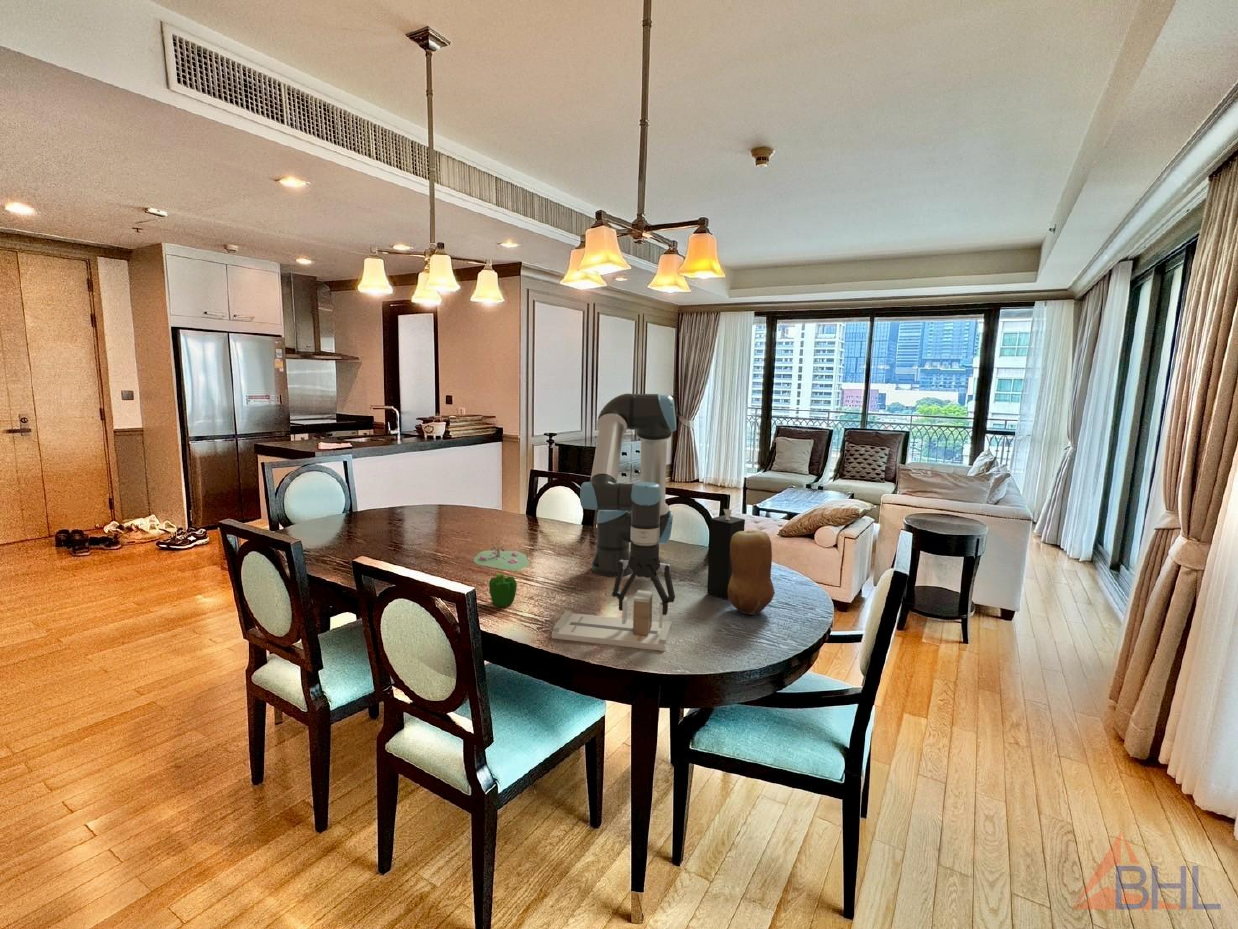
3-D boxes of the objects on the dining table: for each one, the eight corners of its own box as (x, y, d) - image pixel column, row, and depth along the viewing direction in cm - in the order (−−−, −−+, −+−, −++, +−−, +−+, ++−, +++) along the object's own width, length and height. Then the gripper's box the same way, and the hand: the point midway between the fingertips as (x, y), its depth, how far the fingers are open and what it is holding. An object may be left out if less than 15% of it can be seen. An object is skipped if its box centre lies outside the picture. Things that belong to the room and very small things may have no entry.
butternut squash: (732, 601, 185) (735, 523, 181) (776, 608, 180) (780, 528, 176) (721, 617, 172) (725, 533, 168) (769, 625, 167) (774, 539, 163)
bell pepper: (504, 596, 185) (504, 565, 184) (522, 603, 180) (521, 571, 178) (482, 604, 179) (482, 572, 177) (500, 611, 173) (499, 578, 172)
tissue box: (721, 588, 196) (725, 505, 192) (741, 594, 191) (745, 509, 187) (706, 593, 191) (710, 508, 187) (727, 600, 185) (731, 512, 181)
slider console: (567, 617, 170) (567, 609, 169) (671, 628, 164) (672, 620, 163) (551, 638, 156) (551, 629, 156) (664, 651, 150) (665, 641, 150)
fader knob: (637, 624, 161) (637, 590, 160) (651, 626, 161) (652, 591, 159) (632, 633, 156) (633, 598, 154) (648, 635, 155) (649, 599, 153)
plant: (548, 563, 221) (548, 539, 220) (503, 576, 206) (503, 551, 204) (506, 549, 237) (505, 527, 236) (461, 561, 222) (461, 537, 221)
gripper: (600, 542, 153) (599, 625, 156) (685, 549, 149) (682, 634, 152) (607, 535, 160) (606, 614, 164) (688, 541, 156) (685, 622, 159)
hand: (642, 624), depth 158 cm, fingers open, 9 cm apart
